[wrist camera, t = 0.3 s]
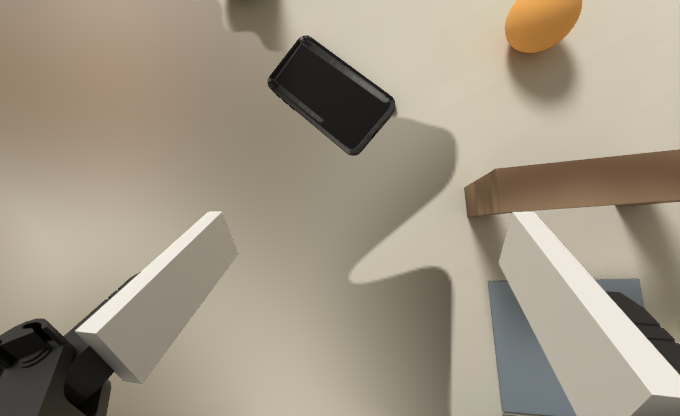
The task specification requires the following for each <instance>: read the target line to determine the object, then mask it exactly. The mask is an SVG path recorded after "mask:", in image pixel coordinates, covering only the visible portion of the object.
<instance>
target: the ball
mask: <svg viewBox="0 0 680 416" xmlns="http://www.w3.org/2000/svg"><path fill="white" fill-rule="evenodd" d="M581 8H582V0H516V1H515V3H514V4H513V6H512V7H511V9H510V11H509V13H508V16H507V19H506V23H505V34H506V38H507V41H508V42H509V44H510V45H511V46H512V47H513V48H514V49H516V50H518V51H520V52H524V53H535V52H540V51H543V50H546V49H548V48H550V47H552V46H554V45H555V44H557V43H558V42H560V41H561V40H562V39H563V38H564V37H565V36H566V35H567V34H568V33H569V32H570V31H571V29H572V28H573V27H574V25H575V23H576V22H577V20H578V18H579V15H580V12H581Z"/></svg>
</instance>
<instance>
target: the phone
mask: <svg viewBox="0 0 680 416" xmlns="http://www.w3.org/2000/svg"><path fill="white" fill-rule="evenodd" d="M268 86H269V88H270V89H271V90H272V91H273V92H274V93H275V94H276V95H277V96H278V97H279V98H281V99H282V100H283V101H284V102H285V103H286V104H288V105H289V106H290V107H291V108H292V109H293V110H295V111H297V112H298V113H299V114H300V115H301V116H303V117H304V118H305V119H306V120H307V121H309V122H310V123H311V124H312V125H314V126H315V127H316V128H317V129H318V130H319V131H321V132H322V133H323V134H324V135H325V136H327V137H328V138H329V139H330V140H331V141H333V142H334V143H335V144H336V145H337V146H339V147H340V148H341V149H342V150H343V151H344V152H346V153H347V154H348V155H351V156H356V155H358V154H360V153H361V152H362V150H363V149H364V148H365V147H366V146H367V144H368V143H369V142H370V141H371V140H372V139H373V138H374V136H375V135H376V134H377V133H378V132H379V130H380V129H381V128H382V127H383V126H384V124H385V123H386V122H387V121H388V120H389V119H390V118H391V115H392V113H393V112H394V110H395V101H394V98H393V97H392V96H390V95H389V94H388V93H386V92H385V91H384V90H382V89H381V88H380V87H378V86H377V85H375V84H374V83H373V82H371V81H370V80H369V79H367V78H366V77H365V76H363V75H362V74H360V73H359V72H358V71H356V70H355V69H354V68H352V67H351V66H350V65H348V64H347V63H345V62H344V61H343V60H341V59H340V58H339V57H337V56H336V55H335V54H333V53H332V52H330V51H329V50H328V49H326V48H325V47H324V46H322V45H321V44H320V43H318V42H317V41H315V40H314V39H313V38H311V37H310V36H302V37H300V38H299V39H298V40H297V41H296V43H295V44H294V45H293V47H292V48H291V49H290V51H289V52H288V53H287V54H286V56H285V57H284V58H283V60H282V61H281V62H280V64H279V65H278V66H277V68H276V69H275V70H274V71H273V73H272V74H271V75H270V77H269V78H268Z"/></svg>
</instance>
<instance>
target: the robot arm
mask: <svg viewBox="0 0 680 416" xmlns="http://www.w3.org/2000/svg"><path fill="white" fill-rule="evenodd" d="M237 255H238V252H237V249H236V246H235V244H234V242H233V239H232V236H231V233H230V231H229V228H228V225H227V223H226V220H225V218H224V215H223V212H208V213H206V214H205V215H204V216H203V217H202V218H201V219H200V220H199V221H197V222H196V223H195V224H194V225H193V226H192V227H191V228H190V229H189V230H187V231H186V232H185V233H184V234H183V235H182V236H181V237H180V238H178V239H177V240H176V241H175V242H174V243H173V244H172V245H171V246H170V247H168V248H167V249H166V250H165V251H164V252H163V253H162V254H160V255H159V256H158V257H157V258H156V259H155V260H154V261H153V262H152V263H150V265H148V266H147V267H146V268H145V269H144V270H143V271H141V272H139V273H138V274H136V275H134V276H133V277H131V278H130V279H129V280H127V281H126V282H125V283H124V284H123V285H122V286H121V287H120V288H118V291H115V292H114V293H113V294H111V296H109V298H108V299H107V300H105V301H103V302H102V303H101V304H100V305H99V306H98V307H97V308H96V309H94V310H93V311H92V312H91V313H90V314H89V315H88V316H87V317H85V318H84V319H83V320H82V321H81V322H80V323H78V324H77V325H76V326H75V327H74V328H73V329H72V330H70V331H69V332H68V333H67V334H66V335H65V336H62V335H61V334H60V333H59V332H58V331H57V330H56V329H55V328H54V327H53V326H52V325H51V324H50V323H49V322H48V321H46V320H45V319H34V320H31V321H27V322H24V323H22V324H20V325H18V326H15V327H13V328H12V329H10V330H8V331H7V332H5V333H4V334H2V335H1V336H0V416H106V414H107V407H108V402H109V397H110V391H111V383H110V381H109V380H108V378H109V377H110V376H111V375H112V373H113V372H115V373H116V374H117V375H118V376H119V377H120V378H121V379H122V380H123V381H126V382H133V383H140V384H142V383H143V382H144V381H145V379H146V378H147V377H148V375H149V374H150V373H151V371H152V370H153V369H154V367H155V366H156V365H157V363H158V362H159V361H160V359H161V358H162V356H163V355H164V354H165V352H166V351H167V350H168V348H169V347H170V346H171V344H172V343H173V341H174V340H175V339H176V338H177V336H178V334H180V332H181V331H182V329H183V328H184V327H185V325H186V324H187V323H188V321H189V320H190V319H191V317H192V316H193V315H194V313H195V312H196V310H197V309H198V308H199V307H200V305H201V304H202V302H203V301H204V300H205V298H206V297H207V296H208V294H209V293H210V292H211V290H212V289H213V288H214V286H215V285H216V284H217V282H218V281H219V279H220V278H221V277H222V275H223V274H224V273H225V271H226V270H227V269H228V267H229V266H230V264H231V263H232V262H233V261H234V259H235V258H236V257H237ZM499 265H500V267H501V269H502V271H503V273H504V275H505V277H506V279H507V281H508V283H509V285H510V287H511V289H512V291H513V293H514V294H515V296H516V298H517V300H518V302H519V304H520V306H521V308H522V310H523V312H524V314H525V316H526V318H527V320H528V322H529V324H530V326H531V328H532V330H533V331H534V333H535V335H536V337H537V339H538V341H539V343H540V345H541V347H542V349H543V351H544V353H545V355H546V357H547V359H548V361H549V363H550V365H551V367H552V368H553V370H554V372H555V374H556V376H557V378H558V380H559V382H560V384H561V386H562V388H563V390H564V392H565V394H566V396H567V398H568V400H569V402H570V404H571V405H572V407H573V409H574V411H575V413H576V415H577V416H680V344H678V343H675V341H674V340H675V339H674V338H673V337H672V336H671V335H670V334H669V333H668V332H667V331H666V330H665V329H664V328H661V327H660V324H659V323H658V322H657V321H656V320H655V319H654V318H653V317H652V316H651V315H650V314H649V313H648V312H647V311H646V310H645V309H644V308H643V307H642V306H640V305H639V304H637V303H636V302H634V301H633V300H631V299H630V298H628V297H627V296H625V295H624V294H622V293H621V292H609V291H604V290H603V289H602V288H601V287H600V285H599V284H598V283H597V282H596V281H595V280H594V279H593V278H592V276H591V275H590V274H589V273H588V272H587V271H586V270H585V269H584V268H583V266H582V265H581V264H580V263H579V262H578V261H577V260H576V259H575V257H574V256H573V255H572V254H571V253H570V252H569V251H568V250H567V249H566V247H565V246H564V245H563V244H562V243H561V242H560V241H559V240H558V238H557V237H556V236H555V235H554V234H553V233H552V232H551V231H550V230H549V228H548V227H547V226H546V225H545V224H544V223H543V222H542V221H541V219H540V218H539V217H538V216H537V215H536V214H535V213H534V212H512V216H511V219H510V223H509V227H508V230H507V234H506V237H505V241H504V245H503V248H502V252H501V255H500V259H499Z"/></svg>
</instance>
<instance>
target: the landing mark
mask: <svg viewBox="0 0 680 416" xmlns="http://www.w3.org/2000/svg"><path fill="white" fill-rule="evenodd" d="M595 281H596V282H597V283H598V284H599V285H600V287H601V288H602V289H603V290H604V291H609V292H621V293H622V294H624V295H625V296H627V297H628V298H630V299H631V300H633V301H634V302H636V303H637V304H639V305H640V306H642V307H643V300H642V294H641V287H640V281H639V279H607V280H595ZM488 286H489V295H490V304H491V314H492V323H493V332H494V341H495V350H496V359H497V368H498V378H499V387H500V396H501V405H502V411H504V412H516V413H527V414H539V415H551V416H577V415H576V413H575V411H574V409H573V407H572V405H571V404H570V402H569V400H568V398H567V396H566V394H565V392H564V390H563V388H562V386H561V384H560V382H559V380H558V378H557V376H556V374H555V372H554V370H553V368H552V367H551V365H550V363H549V361H548V359H547V357H546V355H545V353H544V351H543V349H542V347H541V345H540V343H539V341H538V339H537V337H536V335H535V333H534V331H533V330H532V328H531V326H530V324H529V322H528V320H527V318H526V316H525V314H524V312H523V310H522V308H521V306H520V304H519V302H518V300H517V298H516V296H515V294H514V293H513V291H512V289H511V287H510V285H509V283H508V281H488ZM643 308H644V307H643Z"/></svg>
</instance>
